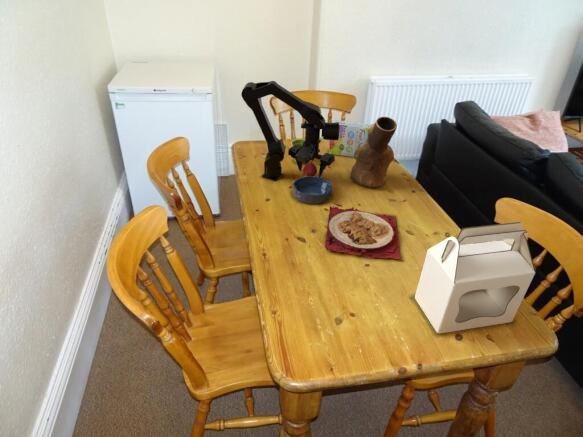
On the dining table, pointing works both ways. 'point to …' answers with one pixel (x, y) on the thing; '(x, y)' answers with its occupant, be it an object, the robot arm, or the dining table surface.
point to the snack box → (349, 138)
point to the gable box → (476, 277)
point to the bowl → (312, 189)
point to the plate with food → (362, 233)
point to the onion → (309, 169)
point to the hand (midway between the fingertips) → (310, 173)
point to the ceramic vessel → (374, 154)
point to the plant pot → (298, 143)
